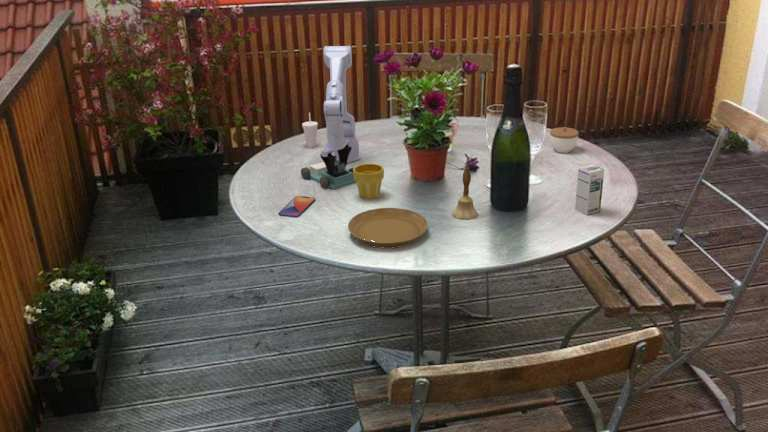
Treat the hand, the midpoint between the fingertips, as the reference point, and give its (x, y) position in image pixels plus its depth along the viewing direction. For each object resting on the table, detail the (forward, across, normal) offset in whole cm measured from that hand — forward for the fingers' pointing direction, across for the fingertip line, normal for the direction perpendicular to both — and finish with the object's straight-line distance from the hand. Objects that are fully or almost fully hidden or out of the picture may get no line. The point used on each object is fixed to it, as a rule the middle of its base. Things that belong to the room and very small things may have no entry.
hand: (337, 169), depth 256 cm
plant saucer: (+5, +26, +38) cm, 46 cm away
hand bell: (+5, +3, +52) cm, 52 cm away
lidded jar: (+5, -70, +58) cm, 91 cm away
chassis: (+5, -2, -5) cm, 7 cm away
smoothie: (+5, -27, -32) cm, 42 cm away
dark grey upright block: (+3, 0, 0) cm, 4 cm away
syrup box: (+5, -19, +84) cm, 87 cm away
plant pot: (+5, +4, +16) cm, 18 cm away
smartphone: (+5, +25, +1) cm, 25 cm away
